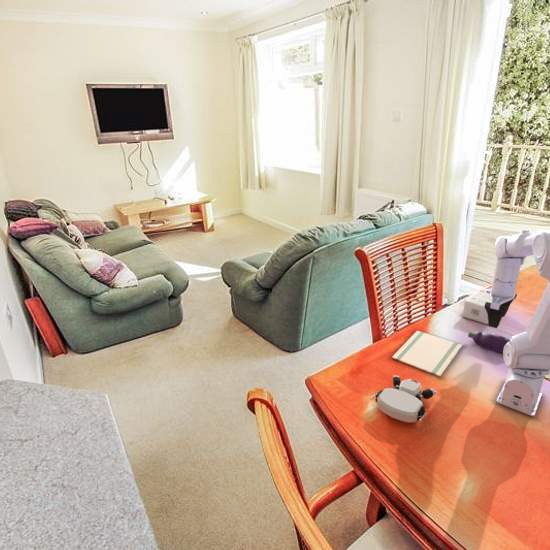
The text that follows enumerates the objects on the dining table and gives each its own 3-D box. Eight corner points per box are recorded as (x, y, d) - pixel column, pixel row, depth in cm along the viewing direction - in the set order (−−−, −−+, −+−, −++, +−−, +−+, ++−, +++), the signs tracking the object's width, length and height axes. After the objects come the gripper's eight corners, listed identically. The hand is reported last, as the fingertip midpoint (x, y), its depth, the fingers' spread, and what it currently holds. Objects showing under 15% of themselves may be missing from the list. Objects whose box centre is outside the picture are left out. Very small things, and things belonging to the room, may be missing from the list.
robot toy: (391, 382, 102) (367, 412, 92) (393, 368, 101) (368, 397, 90) (438, 400, 95) (417, 435, 84) (440, 386, 93) (419, 419, 83)
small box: (486, 325, 124) (501, 310, 131) (489, 308, 121) (504, 294, 129) (461, 316, 129) (477, 303, 137) (464, 300, 127) (480, 287, 134)
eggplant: (513, 350, 110) (516, 337, 108) (509, 358, 107) (512, 344, 105) (470, 337, 118) (472, 324, 116) (465, 344, 115) (467, 331, 113)
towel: (440, 376, 102) (440, 375, 102) (391, 358, 111) (392, 356, 111) (462, 346, 114) (462, 345, 114) (417, 331, 123) (417, 330, 123)
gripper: (496, 266, 110) (488, 307, 116) (481, 284, 101) (474, 327, 106) (524, 272, 106) (514, 313, 111) (511, 291, 96) (501, 335, 102)
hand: (496, 321), depth 108 cm, fingers open, 7 cm apart
